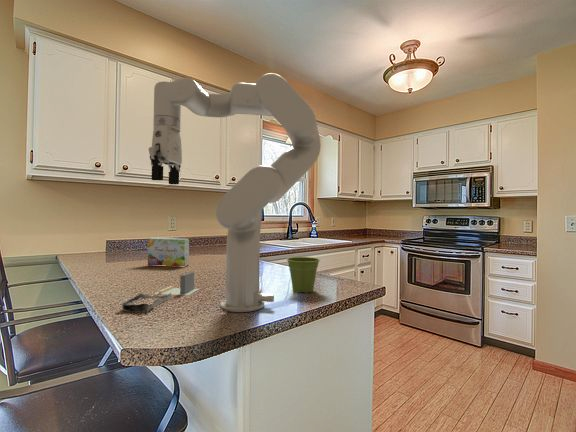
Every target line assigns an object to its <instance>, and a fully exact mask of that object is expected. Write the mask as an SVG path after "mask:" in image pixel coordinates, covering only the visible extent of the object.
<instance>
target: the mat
mask: <svg viewBox="0 0 576 432" xmlns="http://www.w3.org/2000/svg"><path fill="white" fill-rule="evenodd" d="M199 290H200V288H194V290H192V291H190V292H188V293H186V294H180V287H174V285H170V286H167V287H165V288H163V289H160V290H158V291H157V292H154V293H153V295H169V294H170V293H171V296H172V295H173V296H176V295H177V296H189V295H192V294H194V293H195V292H197V291H199Z"/></svg>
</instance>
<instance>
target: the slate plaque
mask: <svg viewBox="0 0 576 432" xmlns="http://www.w3.org/2000/svg"><path fill="white" fill-rule="evenodd" d="M179 280H180V281H179V282H180V284H179V286H180V287H179V288H180V294H186V293H188V292H190V291H192V290H194V289H195V271H189V272H186V273H184V274H183V273H182V274H181V275H180V277H179Z"/></svg>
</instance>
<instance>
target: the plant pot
mask: <svg viewBox="0 0 576 432" xmlns="http://www.w3.org/2000/svg"><path fill="white" fill-rule="evenodd" d="M286 261H287V263H288V267H289V272H290V279H291V287H292V291H294V292H295V293H298V292H299V293H305V294H306V293H307V294H308V292H309V293H312V292H314V288H315V281H316V277H317V276H316V275H317V271H318V270H317V269H318V266H319V263H320V261H321V259H320V258H316V257H312V256H311V257H307V256H293V257H288V258H286ZM299 293H298V294H299Z"/></svg>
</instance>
